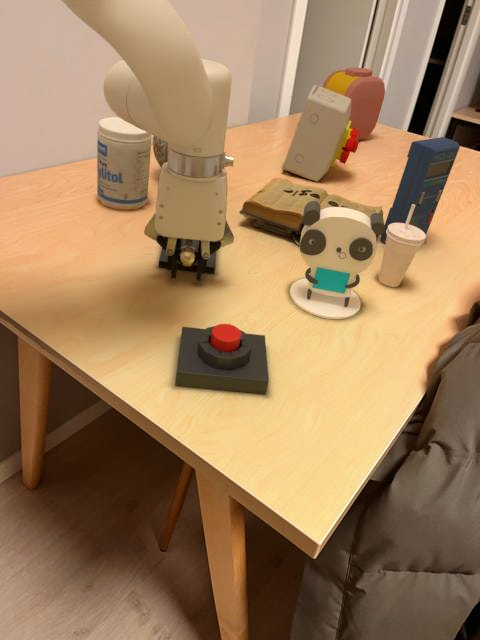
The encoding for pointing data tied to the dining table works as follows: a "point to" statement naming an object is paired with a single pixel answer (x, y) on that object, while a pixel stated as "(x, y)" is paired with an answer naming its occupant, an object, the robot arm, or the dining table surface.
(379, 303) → the dining table surface
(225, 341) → the stop button
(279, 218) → the book
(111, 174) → the supplement tub
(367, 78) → the alarm clock
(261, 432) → the dining table surface
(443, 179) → the electronic device
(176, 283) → the dining table surface
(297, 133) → the electrical switch box
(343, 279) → the panda figurine
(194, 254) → the lever
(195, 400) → the dining table surface
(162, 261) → the switch bracket
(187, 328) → the push button box
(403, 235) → the smoothie
